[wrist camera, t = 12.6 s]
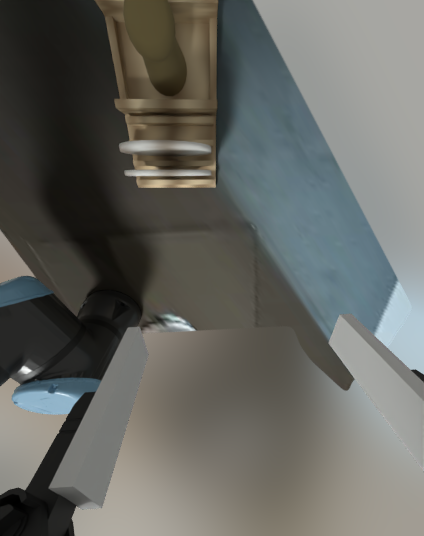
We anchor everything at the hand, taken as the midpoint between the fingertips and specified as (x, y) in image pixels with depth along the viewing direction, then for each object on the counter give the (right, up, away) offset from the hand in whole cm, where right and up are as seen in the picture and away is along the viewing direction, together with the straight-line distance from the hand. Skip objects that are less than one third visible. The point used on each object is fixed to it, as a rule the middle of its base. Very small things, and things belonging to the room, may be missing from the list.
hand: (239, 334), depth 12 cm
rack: (-9, +30, +18) cm, 37 cm away
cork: (-9, +35, +15) cm, 39 cm away
